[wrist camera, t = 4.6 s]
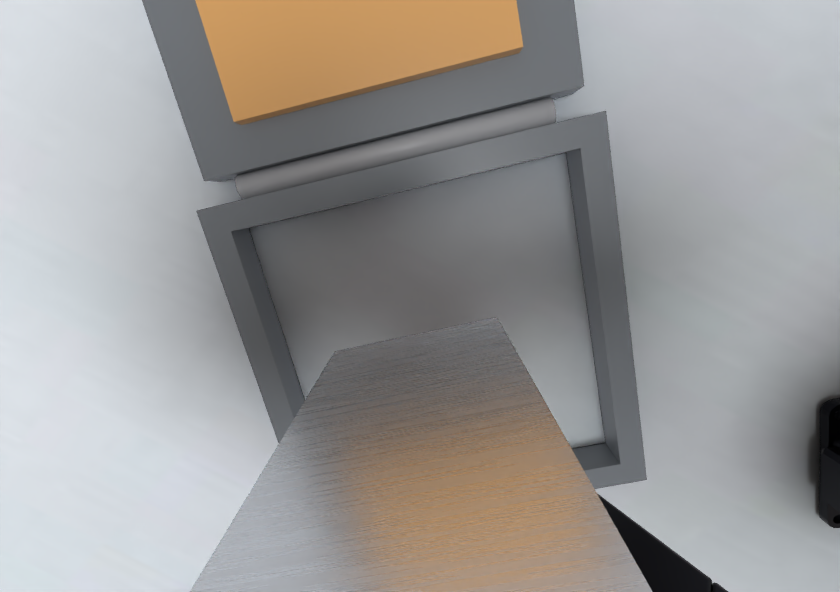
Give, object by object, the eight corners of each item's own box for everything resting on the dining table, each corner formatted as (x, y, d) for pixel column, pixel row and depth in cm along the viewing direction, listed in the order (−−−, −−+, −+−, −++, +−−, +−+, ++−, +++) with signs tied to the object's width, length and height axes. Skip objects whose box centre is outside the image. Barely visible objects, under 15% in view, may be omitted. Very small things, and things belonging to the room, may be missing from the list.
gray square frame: (588, 118, 15) (606, 110, 14) (629, 457, 19) (646, 479, 17) (217, 209, 16) (196, 210, 15) (321, 513, 20) (312, 538, 18)
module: (497, 317, 9) (724, 716, 2) (536, 524, 11) (757, 1187, 4) (334, 351, 10) (61, 806, 2) (393, 548, 11) (329, 1209, 4)
